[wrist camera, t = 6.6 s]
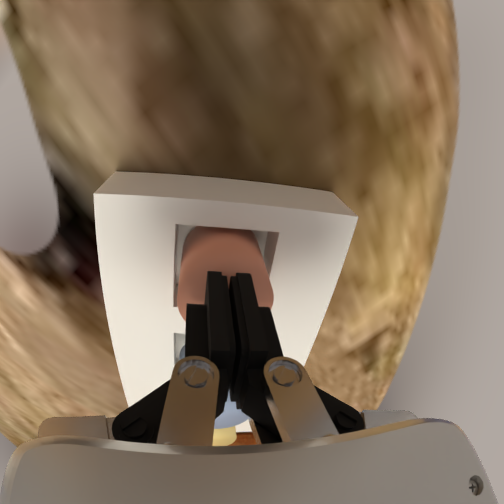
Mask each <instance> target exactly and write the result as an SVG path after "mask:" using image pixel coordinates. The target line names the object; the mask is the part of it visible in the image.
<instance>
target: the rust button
mask: <svg viewBox="0 0 504 504" xmlns="http://www.w3.org/2000/svg"><path fill="white" fill-rule="evenodd" d="M207 271H218V272H222V275H223V276H227V280H228V288H229V284H230V277H231V276H236V273H250V274H251V276H252V280H253V284H254V289H255V293H256V297H257V302H258V306H259V307H269V308H270V309H272V306H273V301H274V294H273V289H272V286H271V282H270V279H269V276H268V273H267V270H266V266H265V263H264V260H263V257H262V254H261V250H260V247H259V244H258V241H257V239H256V237H255V235H254V233H253V232H252V231H251V230H246V229H234V228H221V227H208V226H196V227H195V228H194V229H193V230H192V231H191V232H190V233H189V234H188V236H187V237H186V239H185V241H184V244H183V250H182V258H181V267H180V275H179V285H178V295H177V306H178V310H179V312H180V315H181V316H182V318H183V319H184V320H185V322H186V305H187V303H189V304H204V302H205V291H206V280H207Z"/></svg>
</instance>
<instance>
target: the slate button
mask: <svg viewBox="0 0 504 504" xmlns="http://www.w3.org/2000/svg"><path fill="white" fill-rule="evenodd" d="M183 358H185V345H184V346H183V347H182V349H181V350H180V354H179V360H181V359H183ZM248 419H249V417H248V416H247V415H246V414H244V413H243V412H242V411H241V409H237V408H236V402H231V400H230V393H229V392H228V398H227V402H225V407H224V412H223V413H222V414H221V415H220V416H218V417H217V418H216V419H215V424H214V429H222V428H228V427H233V426H236V425H239V424H241V423H243V422H245V421H246V420H248Z"/></svg>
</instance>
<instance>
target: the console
mask: <svg viewBox="0 0 504 504" xmlns="http://www.w3.org/2000/svg"><path fill="white" fill-rule="evenodd" d="M94 210H95V226H96V238H97V248H98V258H99V266H100V274H101V282H102V289H103V295H104V301H105V307H106V313H107V319H108V324H109V329H110V334H111V339H112V344H113V348H114V353H115V357H116V361H117V365H118V370H119V374H120V377H121V381H122V385H123V389H124V392H125V396H126V399H127V403H128V406H129V407H130V406H132V405H133V404H135V403H136V402H138V401H139V400H141V399H142V398H144V397H145V396H147V395H148V394H149V393H151V392H152V391H154V390H155V389H157V388H158V387H160V386H161V385H162V384H164V383H165V382H167V381H168V380H170V379H171V375H172V371H173V368H174V366H175V364H176V363H177V362H178V361H179V354H180V350H181V349H182V347H183V346H184V345H185V329H186V322H185V320H184V319H183V318H182V316H181V315H180V312H179V310H178V306H177V295H178V285H179V275H180V267H181V258H182V250H183V244H184V241H185V239H186V237H187V236H188V234H189V233H190V232H191V231H192V230H193V229H194V228H195V227H196V226H208V227H221V228H234V229H246V230H251V231H252V232H253V233H254V235H255V237H256V239H257V241H258V244H259V247H260V250H261V254H262V257H263V260H264V263H265V266H266V270H267V273H268V276H269V279H270V282H271V286H272V289H273V294H274V301H273V306H272V309H271V313H272V316H273V320H274V323H275V327H276V331H277V334H278V338H279V342H280V345H281V349H282V352H283V356H284V357H289V358H292V359H294V360H297V361H298V362H299V363H301V364H302V365H303V367H304V365H305V362H306V360H307V358H308V355H309V353H310V351H311V348H312V346H313V343H314V341H315V338H316V336H317V333H318V331H319V328H320V326H321V323H322V321H323V318H324V316H325V313H326V310H327V308H328V305H329V302H330V300H331V297H332V294H333V292H334V289H335V286H336V283H337V280H338V278H339V275H340V272H341V269H342V266H343V263H344V260H345V257H346V254H347V251H348V248H349V245H350V242H351V239H352V236H353V233H354V230H355V226H356V223H357V220H358V216H357V215H356V214H355V213H354V212H353V211H352V210H351V209H350V208H349V207H348V206H347V205H346V204H345V203H344V202H343V201H341V200H340V199H339V198H338V197H337V196H336V195H335V194H334V193H333V192H329V191H323V190H316V189H309V188H302V187H295V186H287V185H280V184H271V183H263V182H254V181H245V180H236V179H225V178H215V177H203V176H191V175H177V174H161V173H143V172H119V171H115V172H114V173H113V174H112V175H111V176H110V177H109V178H108V179H107V180H106V181H105V182H104V183H103V184H102V185H101V186H100V187H99V188H98V189H97V191H96V192H95V193H94ZM235 428H236V432H252V430H251V427H250V424H249V419H248V420H246V421H245V422H243V423H241V424H239V425H236V426H235Z"/></svg>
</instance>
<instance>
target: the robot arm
mask: <svg viewBox="0 0 504 504" xmlns="http://www.w3.org/2000/svg"><path fill="white" fill-rule="evenodd" d="M228 392H229V393H230V400H231V402H236V408H237V409H241V411H242V412H243V413H244V414H246V415H247V416H248V417H249V424H250V427H251V430H252V432H253V435H254V438H255V441H256V444H257V445H239V446H212V444H213V434H214V424H215V419H216V418H217V417H218V416H220V415H221V414H222V413H223V412H224V407H225V402H227V398H228ZM0 504H498V502H497V499H496V497H495V494H494V491H493V489H492V486H491V484H490V481H489V479H488V477H487V474H486V472H485V470H484V467H483V465H482V463H481V461H480V459H479V457H478V455H477V453H476V451H475V449H474V448H473V445H472V444H471V442H470V441H469V439H468V437H467V436H466V434H465V433H464V432H463V430H462V429H461V428H460V427H459V426H458V425H456V424H454V423H453V422H449V421H447V420H443V419H434V418H419V419H418V418H417V417H416V416H415V415H414V414H413V413H412V412H410V411H405V410H398V411H397V410H396V411H395V410H363V411H362V412H358V411H357V410H355V409H354V408H353V407H351V406H349V405H347V404H345V403H344V402H342V401H340V400H338V399H336V398H335V397H333V396H331V395H329V394H328V393H326V392H324V391H323V390H321V389H319V388H317V387H316V386H314V385H313V383H312V381H311V379H310V377H309V375H308V373H307V371H306V370H305V368H304V367H303V365H302V364H301V363H299V362H298V361H297V360H294V359H292V358H289V357H284V356H283V352H282V349H281V345H280V342H279V338H278V334H277V331H276V327H275V323H274V320H273V316H272V313H271V309H270V308H269V307H259V306H258V302H257V297H256V293H255V289H254V284H253V280H252V276H251V274H250V273H236V276H231V277H230V284H229V288H228V280H227V276H223V275H222V272H218V271H207V280H206V291H205V302H204V304H189V303H187V305H186V329H185V358H183V359H181V360H179V361H178V362H177V363H176V364H175V366H174V368H173V371H172V375H171V379H170V380H168V381H167V382H165V383H164V384H162V385H161V386H160V387H158V388H157V389H155V390H154V391H152V392H151V393H149V394H148V395H147V396H145V397H144V398H142V399H141V400H139V401H138V402H136V403H135V404H133V405H132V406H130V407H129V408H127V409H126V410H124V411H123V412H121V413H120V414H119V415H118V416H117V417H112V418H106V416H105V415H104V416H84V417H52V418H48V419H46V420H45V421H43V422H42V423H41V425H40V426H39V431H38V438H36V439H33V440H29V441H27V442H25V443H22V444H21V445H20V446H18V447H17V448H16V450H15V451H14V452H13V454H12V456H11V458H10V460H9V462H8V465H7V468H6V471H5V475H4V479H3V483H2V487H1V493H0Z"/></svg>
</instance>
